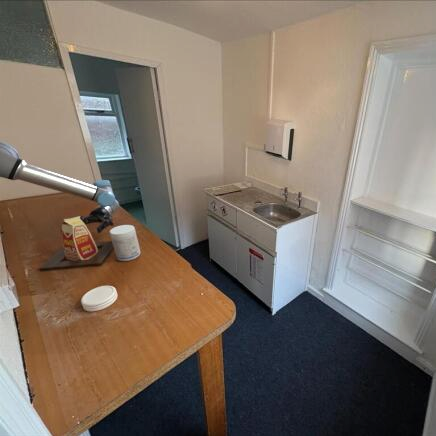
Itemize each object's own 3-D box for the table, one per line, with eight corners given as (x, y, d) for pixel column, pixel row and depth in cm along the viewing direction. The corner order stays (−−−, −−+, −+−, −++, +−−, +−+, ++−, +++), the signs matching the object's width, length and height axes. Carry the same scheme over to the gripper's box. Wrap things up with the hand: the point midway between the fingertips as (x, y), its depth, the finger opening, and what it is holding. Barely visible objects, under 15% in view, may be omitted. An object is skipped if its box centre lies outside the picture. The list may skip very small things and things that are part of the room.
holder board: (40, 271, 97) (38, 268, 97) (67, 246, 115) (66, 244, 114) (101, 265, 103) (100, 262, 103) (118, 243, 121) (118, 240, 120)
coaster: (107, 312, 81) (104, 304, 79) (76, 312, 80) (72, 304, 78) (123, 292, 90) (121, 284, 88) (96, 292, 89) (93, 284, 87)
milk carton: (82, 262, 105) (68, 222, 96) (65, 259, 106) (49, 219, 97) (101, 251, 113) (88, 214, 105) (84, 249, 114) (71, 211, 106)
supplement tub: (120, 252, 114) (113, 225, 107) (143, 249, 117) (136, 223, 110) (114, 263, 105) (105, 235, 99) (138, 260, 108) (131, 233, 102)
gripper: (128, 218, 131) (114, 236, 113) (75, 221, 125) (50, 240, 106) (125, 206, 128) (110, 222, 110) (71, 208, 121) (44, 226, 103)
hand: (80, 231), depth 108 cm, fingers open, 13 cm apart
